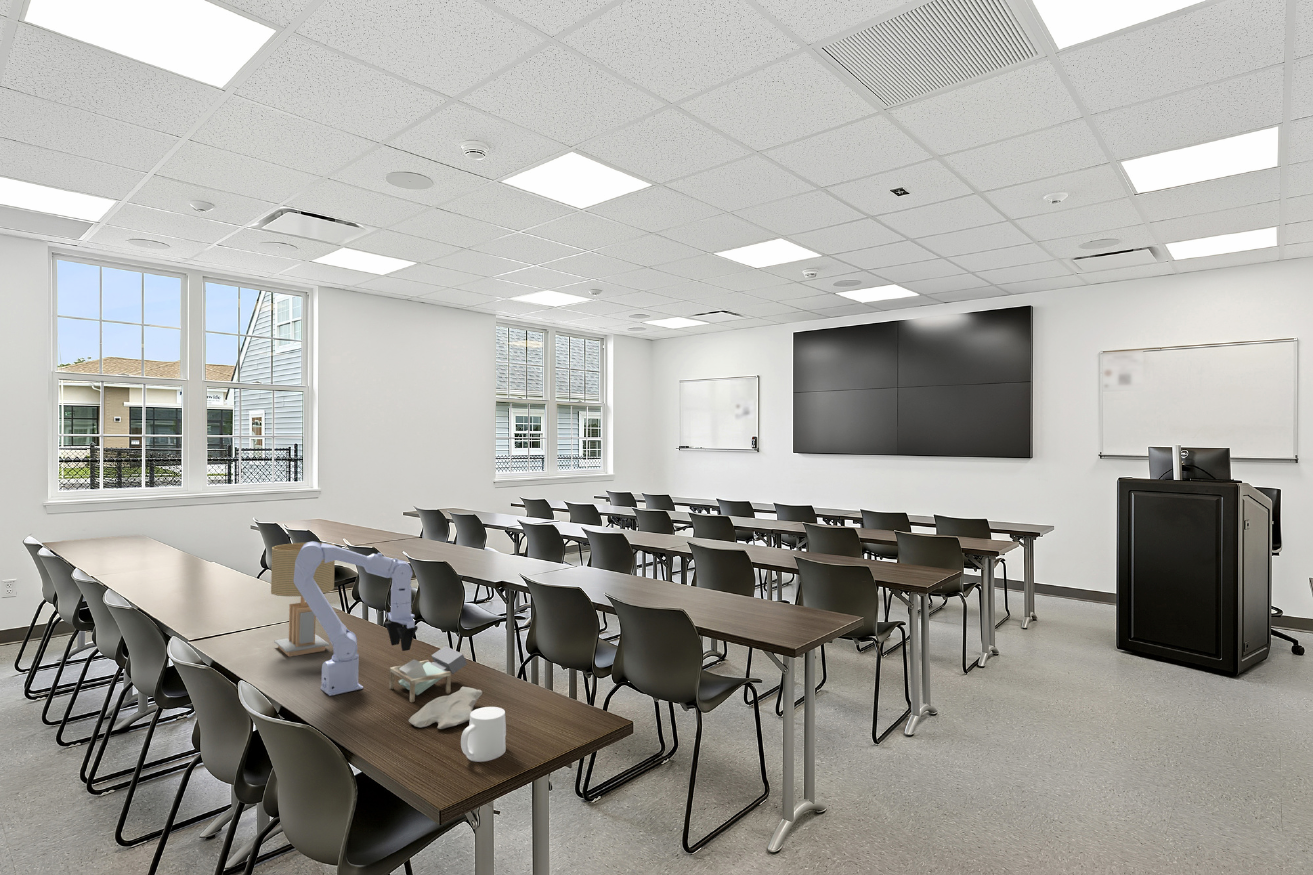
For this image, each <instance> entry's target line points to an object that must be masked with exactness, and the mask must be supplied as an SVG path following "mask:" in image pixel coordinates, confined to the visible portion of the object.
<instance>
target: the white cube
mask: <svg viewBox="0 0 1313 875" xmlns="http://www.w3.org/2000/svg"><path fill="white" fill-rule="evenodd" d="M403 665H404V666H402V667H401V668H399V671H401V672H402V673H404V674H406V675H408V676H409V677H411V678H413V679H416V678H420V677H425V676H427V675H426V673H425V670H424V668H423V666H422V664H421V662H420V661H418V660H417V659H415V658H413V659H412V660H410V661H408V662H407V663H404V664H403ZM404 681H405V680H404ZM405 683H406V684H408V685H409V686H410V683H409V682H407V681H405ZM419 683H420V682H419ZM419 683H415V686H416V685H417V684H419Z"/></svg>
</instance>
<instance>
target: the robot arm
mask: <svg viewBox="0 0 1313 875" xmlns="http://www.w3.org/2000/svg"><path fill="white" fill-rule="evenodd" d="M305 543H306V544H304V545H303V546H302V548H301V550H300V552H299V554H298V556H297V558H296V561H295V571H294V584H295V586H296V587H297V589H298V590H299V592H300V593H301V595H302V596H303V598H304V599H305V602H307V604H308V605H309V607H310V608H311V610H312V612H313V613H314V615H315V616H316V620H317V621H318V622H319V624H320V626H321V627H322V628H323V630H324V631H325V633H326V635H327V638H328V640H329V642H330V644H331V645H332V647H333V648H332V649H333V654H332V656H331V659H329V660H326V661H324V662H322V664H321V665H322V666H321V680H320V681H321V682H320V683H321V686H320V688H319V689H320V690H321V691H323V693H325V694H327V695H328V696H329V697H330V696H337V695H340V694H344V693H348V692H354V691H357V690H362V689H364V686H363V685H362V684H360V683H359V664H360V663H359V662H360V660H359V658H360V657H359V656H360V655H359V653H358V649H359V648H358V644H357V643H358V637H357V635H356V634H355V633H354V632H353V631H350V630H349V629H348V628H347V626H346V625H345V623H343V622H342V621H341V619H340V617H339V616H338V614H337V613H336V611H335V610H334V608H333V606H332V605H331V603H330V602H329V601H328V599H327V597H326V596H325V593H322V591H321V590H320V588H319V586H318V585H317V583H316V582H315V580H314V579H313V576H314V573H315V570H316V568H317V567H318V566H319V564H320V563H321V562H322V560H323V559H325V563H327V562H331V561H334V560H335V561H338V562H343V563H346V564H351V565H356V566H359V567H363V568H364V571H365V572H366V573H368V574H371V575H374V576H379V577H383V578H386V579H389V578H391V587H390V612H387V620H388V621H384V622H383V623H384V626H385V628H386V630H387V632H388V635H389V636H388V637H389V639H390V640H389V641H390V644H391V646H396V645H400V647H401V651H402V652H406V651H410V650H411V646H412V642H413V639H414V636H415V634H416V632H417V630H418V628H419V627H418V626H417V625H415V620H414V618H416V617H415V614H413V613H412V584H411V583H412V580H411V579H412V578H413V573H414V572H413V570H412V567H411V566H410V564H409V563H408V562H407V561H405V560H404V559H399V558H397V557H394V558H390V557H389V556H383V553H381V552H377V553H371V554H370V555H364V554H361V553H358V552H356V551H353V550H349V549H346V548H344V547H339V546H336V545H335V544H334V545H335V546H334V545H329V544H325V543H326V542H318V541H313V540H312V541H308V542H305ZM320 543H322V544H320Z"/></svg>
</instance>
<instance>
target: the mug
mask: <svg viewBox="0 0 1313 875" xmlns="http://www.w3.org/2000/svg"><path fill="white" fill-rule="evenodd" d="M468 722H469V725H468V726H467V727H466V728H464V729H463V731H462V734H461V736H460V747H461V751H462V753H463V754H464V755H465V756H466V758H467V759H468V760H469V761H471V762H476V763H477V762H481V763H482V762H488V761H492V760H495V759H498V758H499V757H501V756H503V755H504V754H505V752H506V750H507V749H506V748H507V747H506V742H507V741H506V736H507V724H506V722H507V721H506V711H505V709H504V708H502V707H497V706H484V707H480V708H476V709H473V710H472V712H471V713H470V720H469V721H468Z"/></svg>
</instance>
